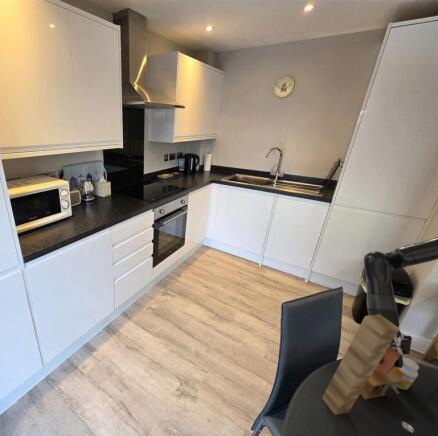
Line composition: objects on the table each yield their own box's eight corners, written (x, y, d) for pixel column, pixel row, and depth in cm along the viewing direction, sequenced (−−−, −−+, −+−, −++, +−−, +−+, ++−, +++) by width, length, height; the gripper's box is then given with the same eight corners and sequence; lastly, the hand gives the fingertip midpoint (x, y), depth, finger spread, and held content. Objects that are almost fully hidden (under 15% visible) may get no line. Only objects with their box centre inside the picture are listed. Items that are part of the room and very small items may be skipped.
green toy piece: (390, 390, 82) (397, 381, 80) (400, 400, 79) (407, 390, 77) (379, 393, 81) (385, 383, 79) (389, 402, 78) (396, 392, 76)
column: (334, 395, 80) (379, 314, 67) (348, 412, 76) (400, 328, 62) (321, 398, 79) (364, 315, 66) (335, 415, 75) (384, 330, 61)
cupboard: (372, 373, 88) (381, 360, 86) (393, 393, 82) (403, 379, 79) (345, 378, 86) (353, 364, 83) (365, 399, 80) (374, 385, 77)
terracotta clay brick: (378, 361, 83) (388, 344, 80) (392, 373, 79) (403, 356, 76) (367, 362, 83) (377, 346, 79) (381, 375, 79) (392, 358, 75)
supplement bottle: (385, 371, 89) (397, 353, 86) (405, 380, 87) (418, 361, 83) (390, 384, 85) (403, 365, 81) (410, 393, 83) (425, 373, 79)
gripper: (397, 314, 86) (405, 369, 80) (351, 305, 89) (355, 357, 82) (416, 314, 79) (426, 373, 73) (365, 304, 82) (371, 360, 76)
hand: (388, 365), depth 78 cm, fingers closed on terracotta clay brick, 4 cm apart
